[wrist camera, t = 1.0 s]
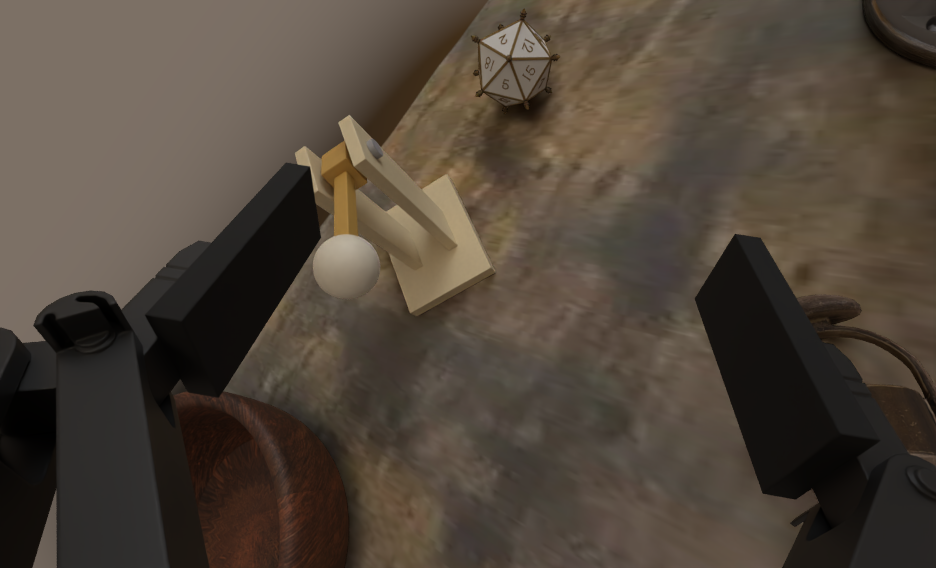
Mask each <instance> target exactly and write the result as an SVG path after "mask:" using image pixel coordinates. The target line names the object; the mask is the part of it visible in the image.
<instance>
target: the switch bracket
mask: <svg viewBox="0 0 936 568" xmlns="http://www.w3.org/2000/svg"><path fill="white" fill-rule="evenodd" d="M339 126H340V129H341V131H342V134H343V137H344V140H345V143H346V146H347V149H348V151H349V154H350V157H351V160H352V163H353V166H354V167H355V168H356V169H357V170H358V171H359V172H361V173H362V174H363V175H364V176H365V177H366V178H367V179H368V180H370V181H371V182H372V183H373V184H374V185H375V186H376V187H378V188H379V189H380V190H381V191H382V192H383V193H384V194H386V195H387V196H388V197H389V198H390V199H391V200H392V201H394V202H395V203H396V204H397V205H396V206H395V207H393V208H391V209H390V210H388V211H387V212H385V211H384V210H383V209H381V208H380V207H379V206H378V205H377V204H375V203H374V202H373V201H372V200H370V199H369V198H368V197H367V196H366V195H364V194H363V193H362V192H361V191H359V190H358V189H357V190H355V191H356V207H357V223H358V233H360V234H361V235H363V236H364V237H366V238H367V239H369V240H370V241H372V242H373V243H375V244H376V245H378V246H379V247H381V248H382V249H384V250H385V251H387V252H388V253H389V255H390V258H391V261H392V264H393V267H394V269H395V272H396V275H397V278H398V281H399V283H400V286H401V289H402V292H403V295H404V297H405V300H406V303H407V306H408V309H409V311H410V313H411V314H413V315H415V316H419V315H421V314H422V313H424V312H426V311H428V310H429V309H431V308H433V307H435V306H437V305H438V304H440V303H442V302H444V301H446V300H447V299H449V298H451V297H453V296H454V295H456V294H458V293H460V292H462V291H463V290H465V289H467V288H469V287H471V286H472V285H474V284H476V283H478V282H479V281H481V280H483V279H485V278H487V277H488V276H490V275H492V274H494V273H495V272H496V271H495V269H494V267H493V265H492V263H491V261H490V259H489V257H488V255H487V252H486V250H485V248H484V246H483V244H482V242H481V240H480V238H479V236H478V233H477V231H476V229H475V227H474V225H473V223H472V221H471V219H470V217H469V215H468V212H467V210H466V208H465V206H464V204H463V202H462V200H461V198H460V196H459V194H458V191H457V189H456V187H455V185H454V183H453V181H452V179H451V178H450V177H449V176H448V175H447V174H446V175H444V176H442V177H441V178H439V179H438V180H436V181H434V182H433V183H431V184H430V185H428V186H426V187H425V188H423V189H421V188H420V187H419V186H418V185H417V184H416V183H415V182H414V181H413V180H412V179H411V178H410V177H409V176H408V175H407V174H406V173H405V172H404V171H403V170H402V169H401V168H400V167H399V166H398V165H397V164H396V163H395V162H394V161H393V159H392V158H391V157H390V156H389V155H388V154H387V153H386V152H385V151H384V150H383V149H382V148H381V147H380V146H379V145H378V143H377V142H376V141H375V140H374V139H372V138H371V137H370V136H369V135H368V134H367V133H366V132H365V131H364V130H363V129H362V127H361V126H359V125H358V123H357V122H356V121H355V120H354V119H353V118H352V117H351V116H350V115H349V116H347V117H346V118H344V119H343V120H342V121H340V122H339ZM295 156H296V160H297V163H298V165H304V166H310V169H311V176H312V182H313V189H314V195H315V202H316V204H317V205H319V206H320V207H322V208H323V209H324V210H326V211H328V212H329V213H330V214H332V215H333V216H334V188H333V187H332V186H331V185H330V184H329V183H328V182H327V181H326V179H325V178H324V177H323V176H322V175H321V165H322V160H321V159H320V158H319V157H318V156H317V155H315V154H314V153H313V152H312V151H310V150H309V149H308V148H307V147H303V148H302V149H300V150H299V151H297V152H296V153H295Z"/></svg>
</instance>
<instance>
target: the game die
mask: <svg viewBox="0 0 936 568" xmlns="http://www.w3.org/2000/svg"><path fill="white" fill-rule="evenodd" d="M526 14H527V13H526V11H525V9H523V10H522V12H521V15H520V17H521V19H520V20H518V21H516V22H514V23H512V24H510V25H508V26H506V27H503V25H501V24H499V27H498V29H499V30H498V31H496V32H494V33H492V34H490V35H488V36H486V37H484V38H482V39H479V38H478V37H477V36H476V35H475V36H471V37H472V40H473V41H474V42H475V43H476V42H477V43H478V62H479V71H478V70H475V71H474V72H473V74H474V75H475V76H477V75H479V78H480V85H481V90H479V91H478V92H476V96H475V97H480V96H482V94H483V93H485V94H486V95H488V96H490V97H491V98H493V99H494V100H496V101H497V102H499V103H501V104H502V105H504V108H503V110H502V111H503V112H504V114H505V113H506V112H508V111H507V110H508V108H507V107H508V106H512V105H516V104H521V103H524V108H526V109H529V106H530V105H529V103H528V102H527V101H529V100H530V99H532V98H533V97H534V96H536V95H537V94H539V93H540V92H542V91H543V90H545V91H546V92H547V93H552V91H551V88H549V87H547V81H548V77H549V72H550V67H551V62H552V60H554V61H555V60H556V61H557V60H558V59H559V58H560V57H561V56H559V55H557V54H556V55H553V56H551V54H550V52H549V49H548V47H547V44H546V42H547V41H549V40H550V37H551V35H546V37H544V39H543V38H542V37H541V36H540V35H539V34H538V33H537V32H536V31H535V30H534V29H533V28H532V27H531V26H530V25H529V24H528V23H527V22H526V21H525V20H524V18H525V17H526Z"/></svg>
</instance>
